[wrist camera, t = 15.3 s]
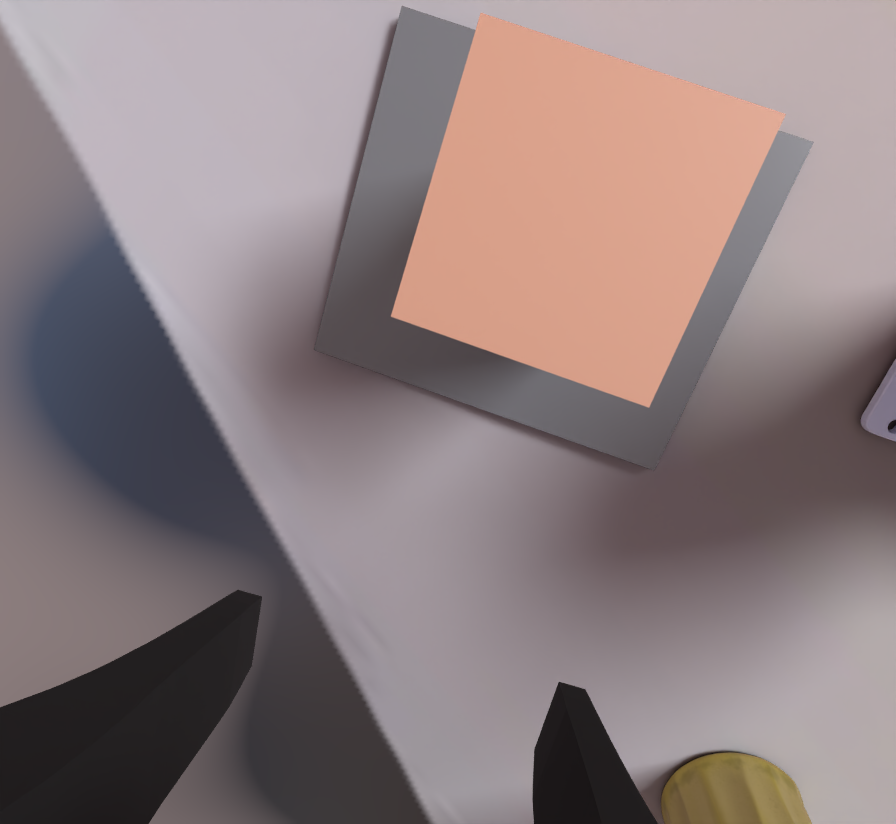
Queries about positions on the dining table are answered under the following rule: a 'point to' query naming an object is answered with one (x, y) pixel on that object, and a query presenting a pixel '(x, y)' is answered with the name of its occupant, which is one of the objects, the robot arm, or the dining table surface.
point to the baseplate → (469, 367)
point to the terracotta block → (578, 208)
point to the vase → (732, 793)
